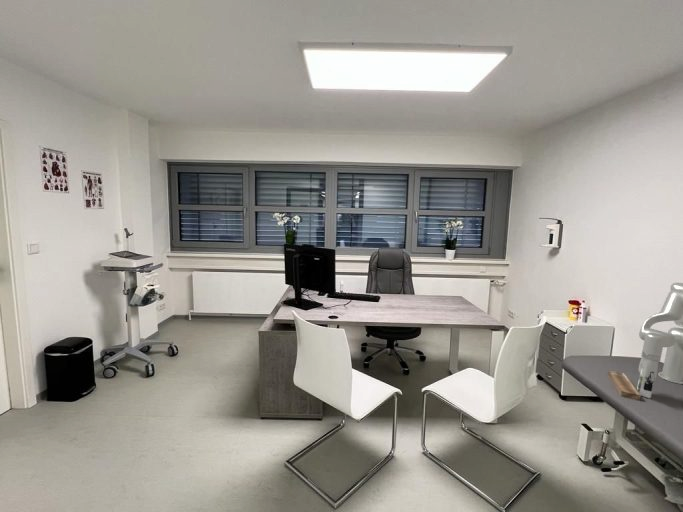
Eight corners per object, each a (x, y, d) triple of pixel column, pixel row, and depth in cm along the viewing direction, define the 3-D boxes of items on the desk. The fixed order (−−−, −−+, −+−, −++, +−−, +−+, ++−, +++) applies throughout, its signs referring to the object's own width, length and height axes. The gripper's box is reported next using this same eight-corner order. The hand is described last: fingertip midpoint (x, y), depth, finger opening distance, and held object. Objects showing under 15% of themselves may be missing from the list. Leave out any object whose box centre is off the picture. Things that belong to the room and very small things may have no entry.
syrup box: (636, 390, 186) (640, 366, 184) (650, 394, 183) (655, 369, 180) (636, 394, 182) (641, 369, 180) (651, 398, 178) (656, 373, 176)
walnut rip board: (624, 378, 200) (625, 373, 200) (639, 400, 177) (641, 395, 176) (607, 375, 203) (608, 370, 203) (620, 396, 180) (621, 390, 180)
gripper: (636, 348, 188) (631, 378, 191) (647, 361, 173) (641, 393, 175) (653, 351, 185) (648, 381, 188) (667, 364, 169) (660, 397, 172)
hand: (645, 386), depth 181 cm, fingers closed on syrup box, 6 cm apart
